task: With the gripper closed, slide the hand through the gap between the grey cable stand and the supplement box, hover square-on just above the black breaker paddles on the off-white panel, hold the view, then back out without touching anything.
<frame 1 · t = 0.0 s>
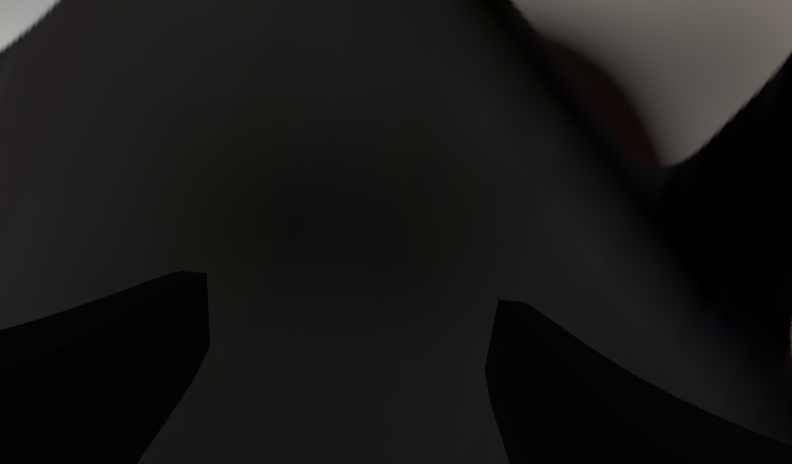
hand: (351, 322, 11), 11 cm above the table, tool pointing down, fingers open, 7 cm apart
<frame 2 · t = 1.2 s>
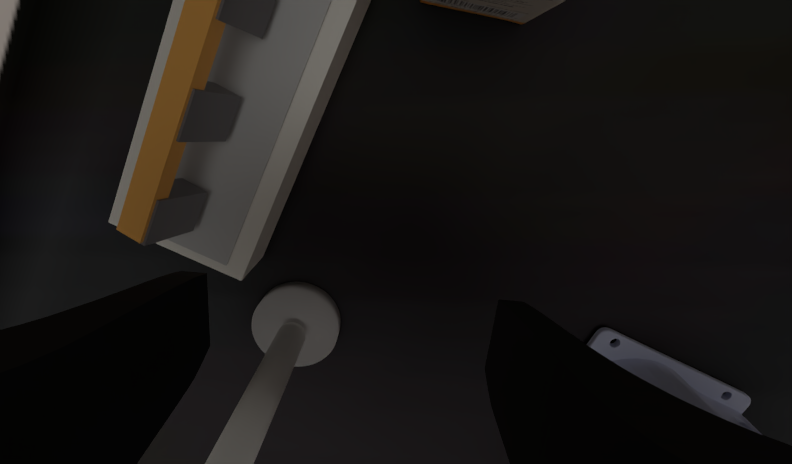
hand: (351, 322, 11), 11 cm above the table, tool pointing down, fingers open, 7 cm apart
breaker paddles: (196, 110, 15), point 5 cm above the table, hinge at 12.0°
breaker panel: (251, 109, 20), on the table
grey cable stand: (299, 319, 23), on the table
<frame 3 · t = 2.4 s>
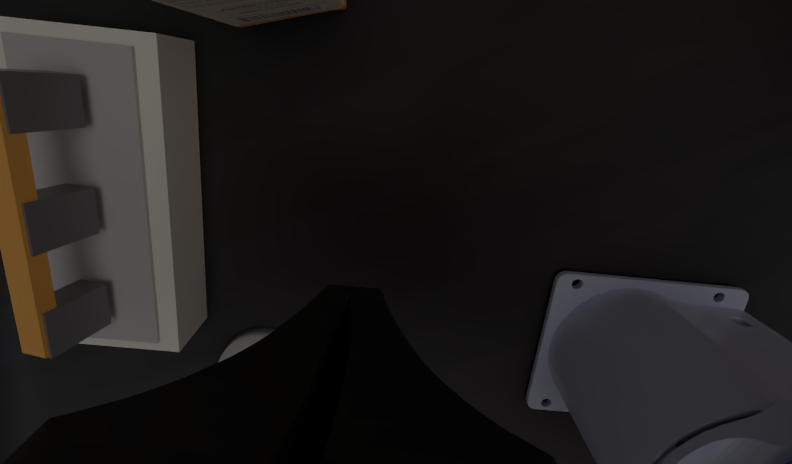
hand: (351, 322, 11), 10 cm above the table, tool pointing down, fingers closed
breaker paddles: (49, 218, 15), point 5 cm above the table, hinge at 12.0°
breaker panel: (135, 187, 20), on the table
grey cable stand: (266, 363, 23), on the table
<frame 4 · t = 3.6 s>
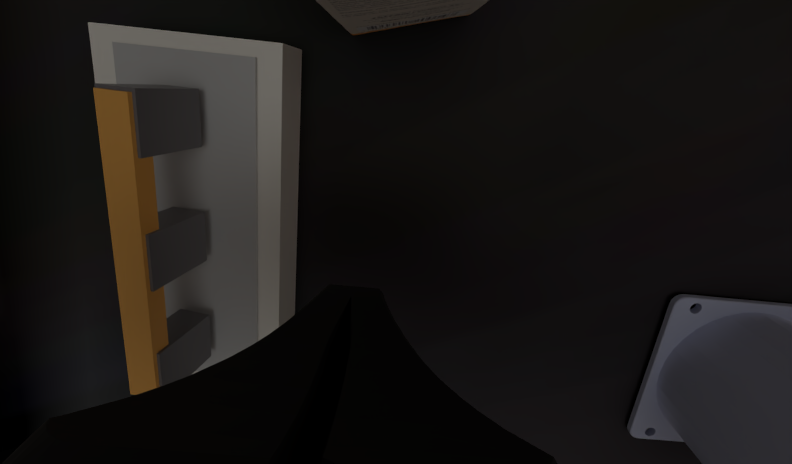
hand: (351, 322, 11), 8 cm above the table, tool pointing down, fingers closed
breaker paddles: (162, 246, 14), point 5 cm above the table, hinge at 12.0°
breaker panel: (227, 206, 18), on the table
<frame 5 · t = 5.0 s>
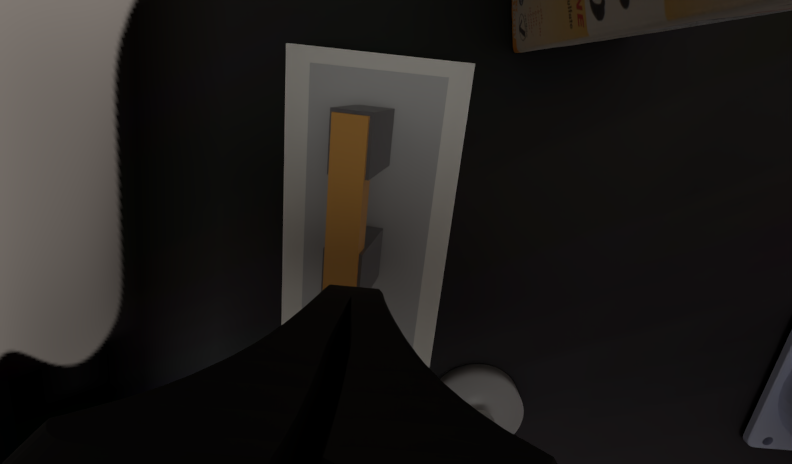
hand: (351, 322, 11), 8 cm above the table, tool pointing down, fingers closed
breaker paddles: (352, 264, 14), point 5 cm above the table, hinge at 12.0°
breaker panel: (369, 219, 19), on the table
grey cable stand: (474, 400, 22), on the table
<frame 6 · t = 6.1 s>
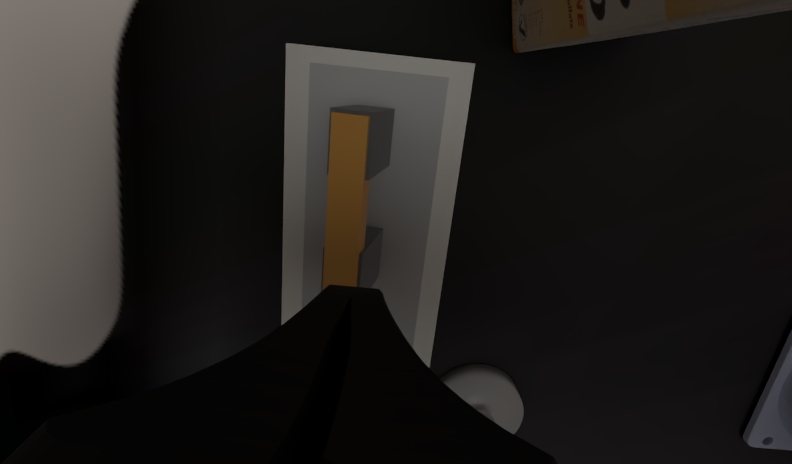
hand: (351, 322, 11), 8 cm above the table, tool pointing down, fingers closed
breaker paddles: (352, 264, 14), point 5 cm above the table, hinge at 12.0°
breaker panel: (369, 219, 19), on the table
grey cable stand: (474, 400, 22), on the table
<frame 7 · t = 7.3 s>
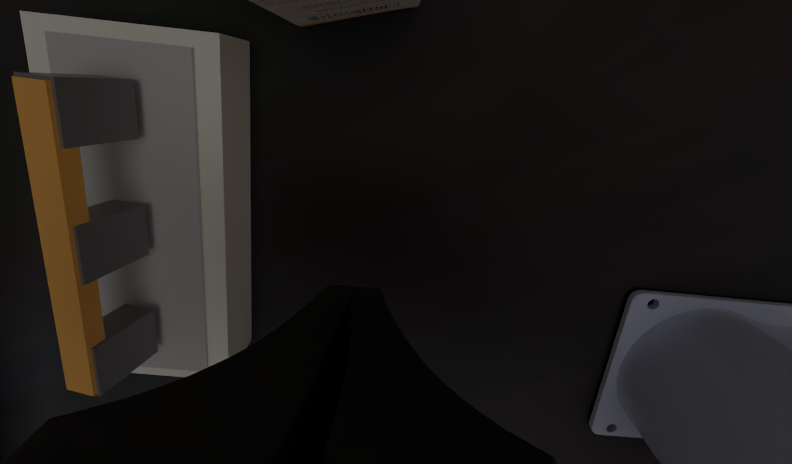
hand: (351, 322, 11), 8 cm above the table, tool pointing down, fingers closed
breaker paddles: (98, 240, 14), point 5 cm above the table, hinge at 12.0°
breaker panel: (178, 200, 18), on the table
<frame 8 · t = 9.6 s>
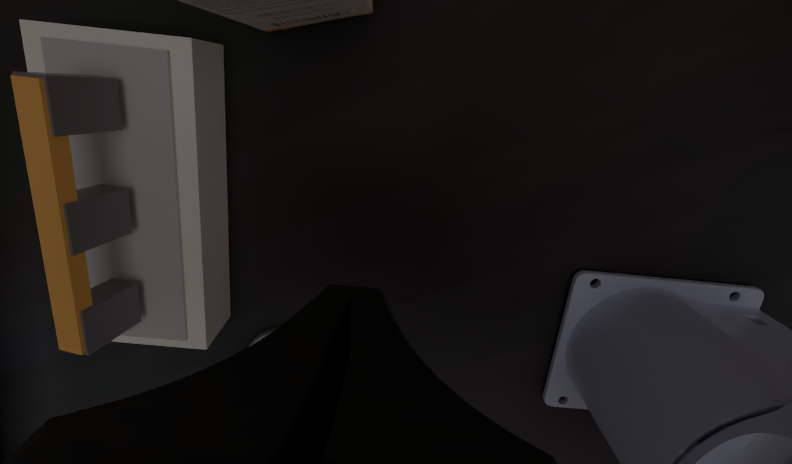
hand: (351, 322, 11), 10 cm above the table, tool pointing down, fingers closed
breaker paddles: (86, 218, 16), point 5 cm above the table, hinge at 12.0°
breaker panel: (162, 188, 20), on the table
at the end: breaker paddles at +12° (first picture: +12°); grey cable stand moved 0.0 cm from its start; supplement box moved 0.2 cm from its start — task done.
